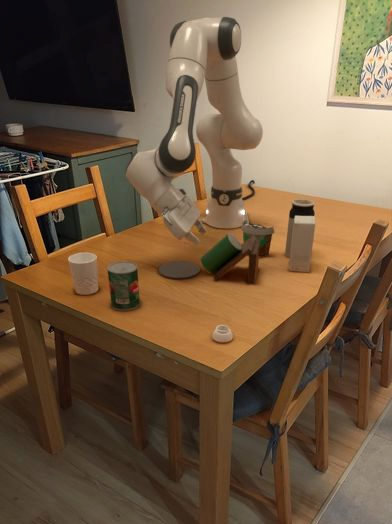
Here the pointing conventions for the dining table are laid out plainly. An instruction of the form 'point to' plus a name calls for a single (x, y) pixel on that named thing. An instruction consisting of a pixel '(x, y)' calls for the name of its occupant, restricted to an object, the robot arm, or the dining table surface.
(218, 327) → the white jar
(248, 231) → the food container
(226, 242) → the can
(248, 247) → the stand
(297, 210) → the travel mug
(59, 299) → the dining table surface
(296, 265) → the cosmetic box
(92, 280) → the white cup
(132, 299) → the canned tomato
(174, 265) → the disc
